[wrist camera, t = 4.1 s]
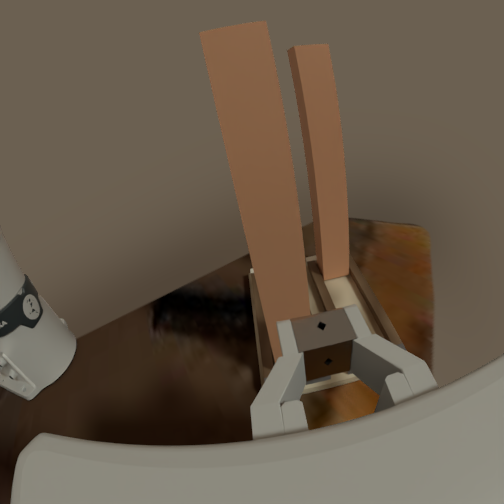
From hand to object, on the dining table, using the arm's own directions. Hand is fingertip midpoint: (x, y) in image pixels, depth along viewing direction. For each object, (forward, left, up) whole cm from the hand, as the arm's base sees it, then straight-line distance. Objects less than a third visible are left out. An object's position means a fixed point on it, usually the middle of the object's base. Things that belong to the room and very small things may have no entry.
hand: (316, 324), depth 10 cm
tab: (0, +13, -20) cm, 23 cm away
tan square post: (+9, +28, -20) cm, 35 cm away
